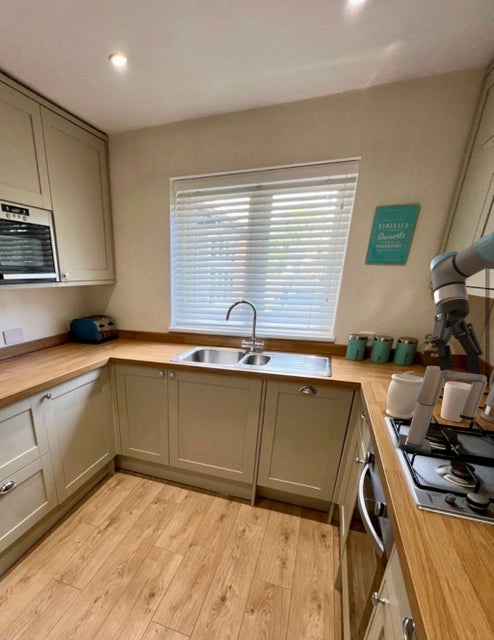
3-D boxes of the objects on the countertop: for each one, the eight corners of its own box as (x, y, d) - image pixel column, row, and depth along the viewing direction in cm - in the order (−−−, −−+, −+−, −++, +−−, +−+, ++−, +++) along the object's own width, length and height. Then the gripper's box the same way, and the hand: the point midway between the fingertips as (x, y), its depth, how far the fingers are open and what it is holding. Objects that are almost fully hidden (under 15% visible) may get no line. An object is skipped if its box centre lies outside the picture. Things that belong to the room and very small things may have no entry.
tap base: (427, 444, 104) (441, 402, 99) (429, 455, 97) (444, 410, 92) (398, 437, 107) (410, 397, 102) (398, 447, 101) (410, 404, 96)
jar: (385, 417, 123) (395, 379, 117) (379, 408, 132) (389, 372, 127) (418, 422, 120) (430, 383, 114) (410, 412, 129) (420, 375, 124)
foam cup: (439, 411, 130) (450, 380, 126) (469, 419, 124) (481, 386, 119) (432, 417, 124) (442, 384, 120) (462, 425, 118) (475, 391, 113)
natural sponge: (419, 391, 154) (425, 370, 150) (420, 396, 147) (426, 375, 143) (397, 387, 159) (402, 367, 155) (396, 392, 152) (402, 371, 148)
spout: (472, 416, 94) (489, 372, 90) (476, 422, 90) (493, 376, 86) (414, 406, 101) (426, 364, 96) (415, 411, 97) (427, 368, 93)
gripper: (461, 319, 104) (471, 383, 99) (410, 299, 95) (418, 369, 90) (491, 309, 97) (503, 377, 93) (439, 286, 88) (449, 361, 83)
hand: (461, 373), depth 91 cm, fingers open, 13 cm apart
